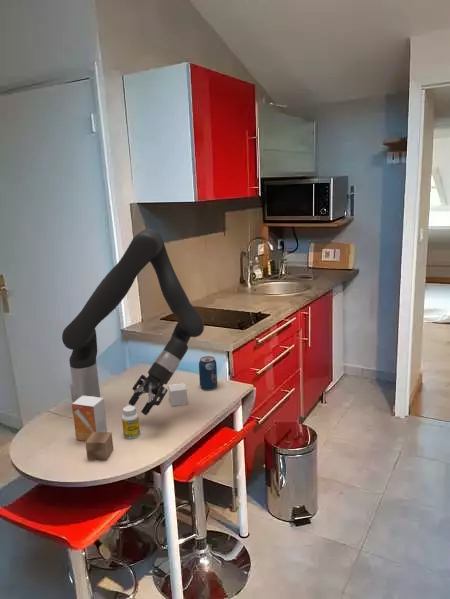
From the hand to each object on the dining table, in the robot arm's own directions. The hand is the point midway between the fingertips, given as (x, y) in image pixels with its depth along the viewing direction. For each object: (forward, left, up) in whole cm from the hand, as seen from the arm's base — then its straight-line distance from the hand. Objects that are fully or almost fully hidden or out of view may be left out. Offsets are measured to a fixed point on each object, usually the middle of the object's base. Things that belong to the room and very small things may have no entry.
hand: (137, 409), depth 157 cm
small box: (-13, -7, -9) cm, 17 cm away
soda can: (+9, +39, -8) cm, 41 cm away
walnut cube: (-4, -15, -8) cm, 18 cm away
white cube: (+3, +24, -9) cm, 25 cm away
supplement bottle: (-1, -2, -8) cm, 9 cm away
